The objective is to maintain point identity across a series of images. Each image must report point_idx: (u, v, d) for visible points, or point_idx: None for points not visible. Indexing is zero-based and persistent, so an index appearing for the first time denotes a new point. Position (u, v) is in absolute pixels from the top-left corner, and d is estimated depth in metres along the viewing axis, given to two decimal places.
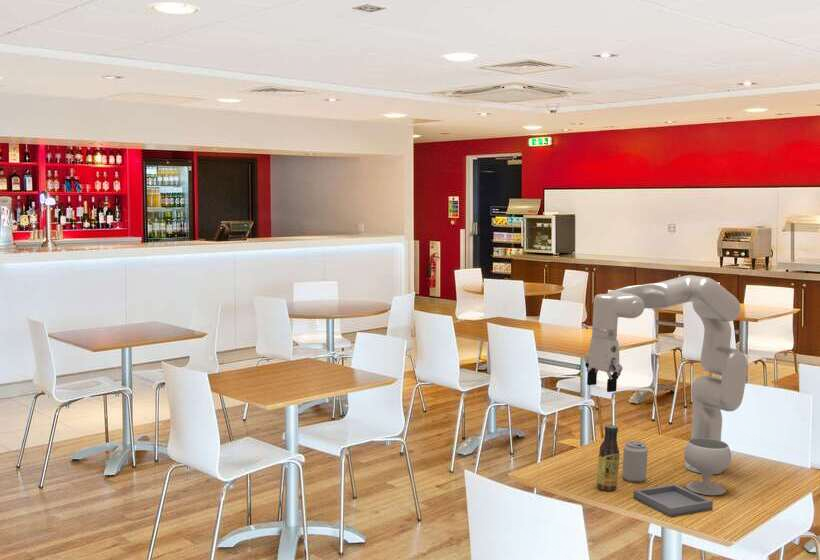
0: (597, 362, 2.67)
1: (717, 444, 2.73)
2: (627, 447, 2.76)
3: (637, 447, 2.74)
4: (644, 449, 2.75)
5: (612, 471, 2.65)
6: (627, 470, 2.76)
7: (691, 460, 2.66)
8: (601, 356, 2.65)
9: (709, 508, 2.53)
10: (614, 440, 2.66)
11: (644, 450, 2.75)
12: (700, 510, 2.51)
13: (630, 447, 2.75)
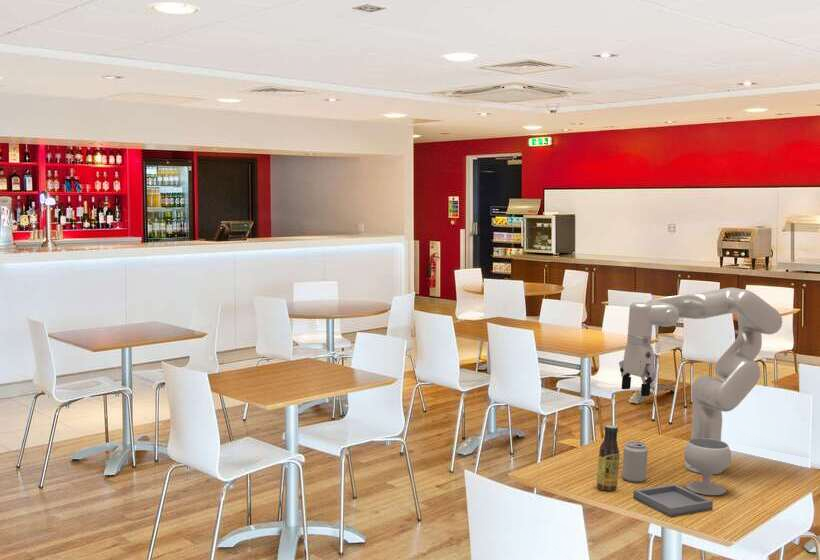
0: (631, 367, 2.79)
1: (717, 444, 2.73)
2: (627, 447, 2.76)
3: (637, 447, 2.74)
4: (644, 449, 2.75)
5: (612, 471, 2.65)
6: (627, 470, 2.76)
7: (691, 460, 2.66)
8: (636, 362, 2.77)
9: (709, 508, 2.53)
10: (614, 440, 2.66)
11: (644, 450, 2.75)
12: (700, 510, 2.51)
13: (630, 447, 2.75)
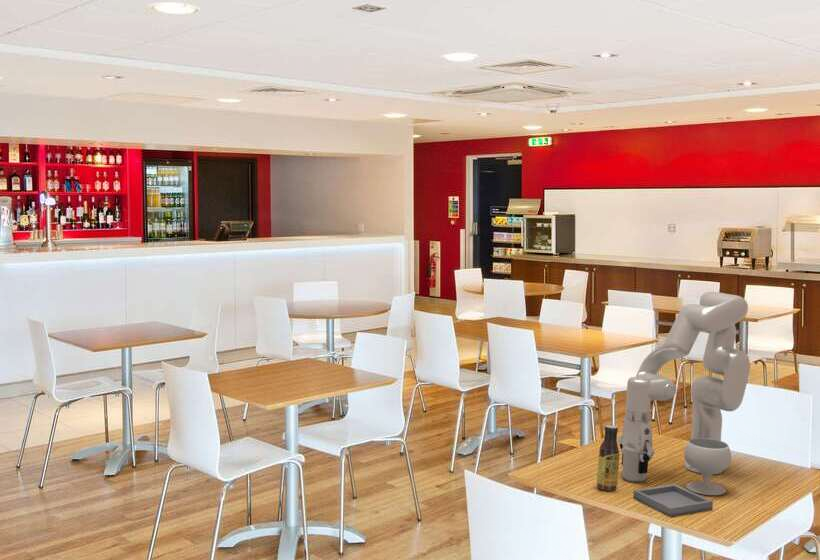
0: (630, 443, 2.76)
1: (717, 444, 2.73)
2: (627, 447, 2.76)
3: None
4: (644, 449, 2.75)
5: (612, 471, 2.65)
6: (627, 470, 2.76)
7: (691, 460, 2.66)
8: (634, 438, 2.74)
9: (709, 508, 2.53)
10: (614, 440, 2.66)
11: (644, 450, 2.74)
12: (700, 510, 2.51)
13: (630, 447, 2.75)
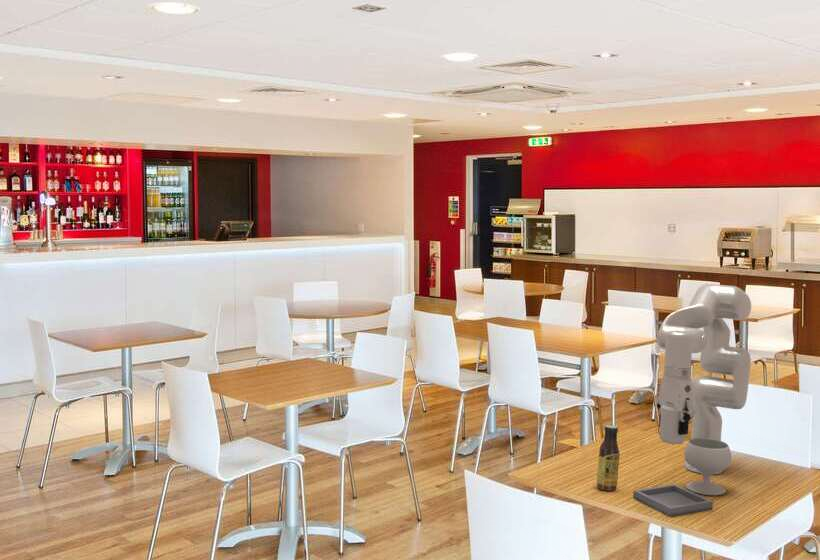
0: (669, 402, 2.54)
1: (717, 444, 2.73)
2: (665, 406, 2.54)
3: None
4: (684, 408, 2.53)
5: (612, 471, 2.65)
6: (665, 431, 2.54)
7: (691, 460, 2.66)
8: (674, 396, 2.52)
9: (709, 508, 2.53)
10: (614, 440, 2.66)
11: (684, 409, 2.53)
12: (700, 510, 2.51)
13: (669, 406, 2.53)
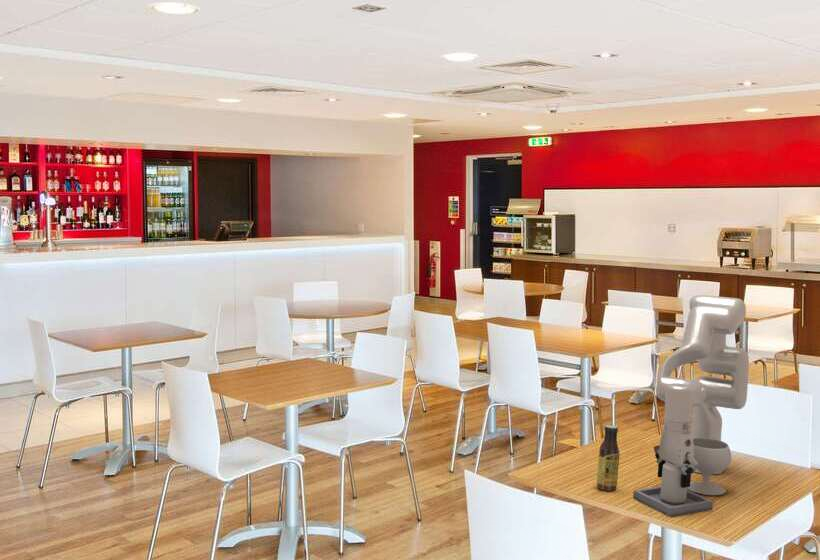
0: (669, 455, 2.54)
1: (717, 444, 2.73)
2: (667, 466, 2.54)
3: None
4: (686, 468, 2.54)
5: (612, 471, 2.65)
6: (667, 491, 2.54)
7: None
8: (674, 450, 2.52)
9: (709, 508, 2.53)
10: (614, 440, 2.66)
11: None
12: (700, 510, 2.51)
13: (671, 466, 2.54)
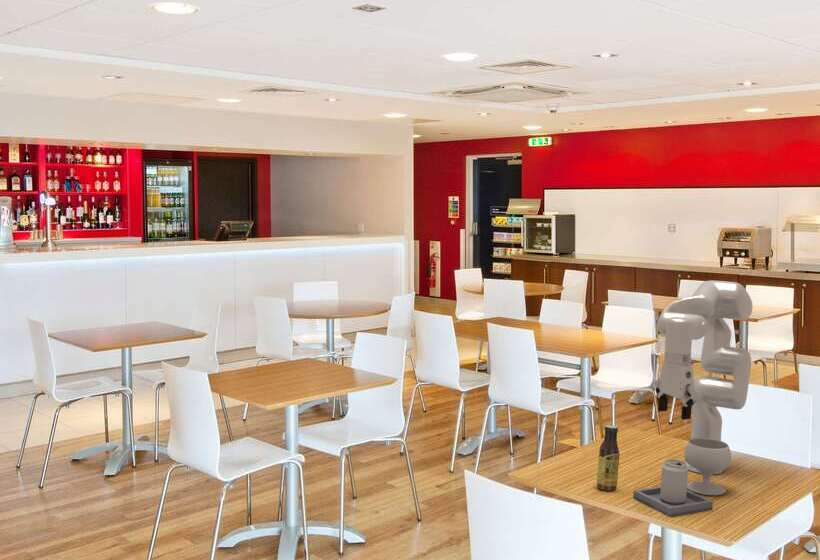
0: (669, 388, 2.55)
1: (717, 444, 2.73)
2: (666, 466, 2.55)
3: (678, 466, 2.53)
4: (685, 468, 2.54)
5: (612, 471, 2.65)
6: (667, 491, 2.54)
7: (691, 460, 2.66)
8: (675, 382, 2.53)
9: (709, 508, 2.53)
10: (614, 440, 2.66)
11: (685, 469, 2.53)
12: (700, 510, 2.51)
13: (670, 466, 2.54)
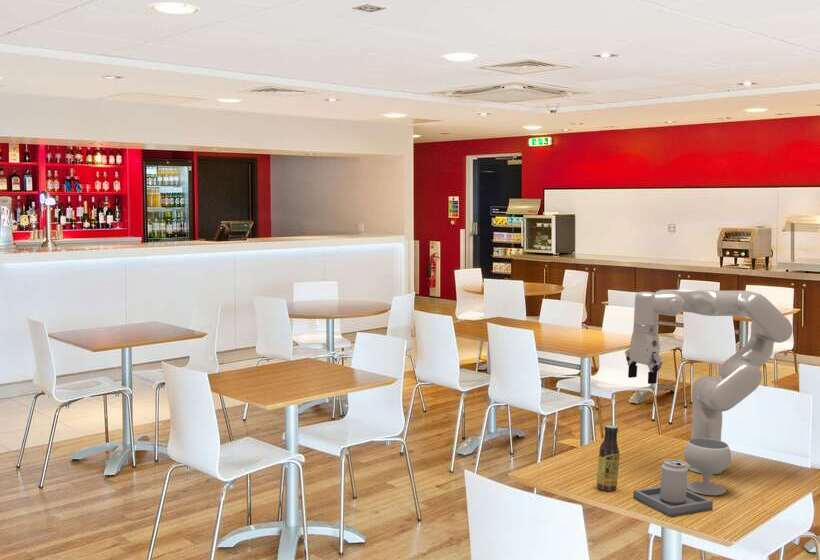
0: (638, 356, 2.84)
1: (717, 444, 2.73)
2: (666, 466, 2.55)
3: (677, 466, 2.53)
4: (684, 468, 2.54)
5: (612, 471, 2.65)
6: (666, 491, 2.54)
7: (691, 460, 2.66)
8: (642, 350, 2.82)
9: (709, 508, 2.53)
10: (614, 440, 2.66)
11: (685, 469, 2.53)
12: (700, 510, 2.51)
13: (670, 466, 2.54)
